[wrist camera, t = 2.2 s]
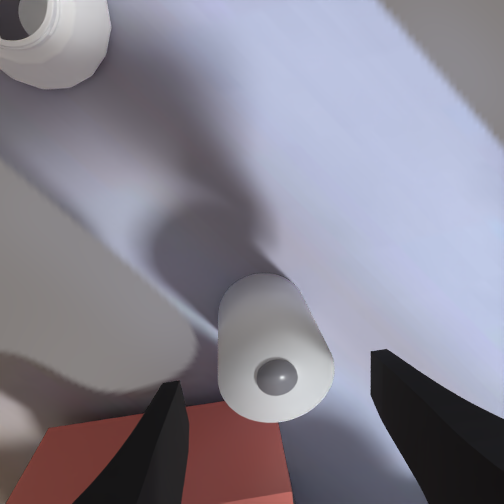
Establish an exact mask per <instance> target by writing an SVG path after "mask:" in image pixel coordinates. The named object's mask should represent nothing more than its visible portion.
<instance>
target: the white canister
mask: <svg viewBox="0 0 504 504" xmlns="http://www.w3.org/2000/svg"><path fill="white" fill-rule="evenodd" d="M333 378H334V361H333V357H332V354H331V352H330V350H329V348H328V346H327V344H326V342H325V340H324V338H323V336H322V334H321V332H320V330H319V328H318V326H317V324H316V322H315V320H314V318H313V316H312V314H311V312H310V310H309V308H308V306H307V304H306V302H305V300H304V298H303V296H302V294H301V292H300V291H299V289H298V288H297V287H296V286H295V284H293V283H292V282H291V281H290V280H288V279H286V278H284V277H282V276H279V275H276V274H271V273H257V274H252V275H249V276H246V277H244V278H242V279H240V280H238V281H237V282H235V283H234V284H233V285H232V286H231V287H230V288H229V289H228V290H227V291H226V292H225V294H224V295H223V297H222V299H221V302H220V305H219V309H218V386H219V390H220V393H221V395H222V397H223V399H224V400H225V402H226V403H227V404H228V406H229V407H230V408H231V409H233V410H234V411H235V412H236V413H238V414H239V415H241V416H243V417H245V418H247V419H250V420H253V421H258V422H265V423H276V422H284V421H288V420H292V419H295V418H297V417H300V416H302V415H304V414H306V413H307V412H309V411H310V410H312V409H313V408H315V407H316V406H317V405H318V404H319V403H320V402H321V401H322V400H323V399H324V397H325V396H326V394H327V393H328V391H329V389H330V387H331V385H332V382H333Z"/></svg>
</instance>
